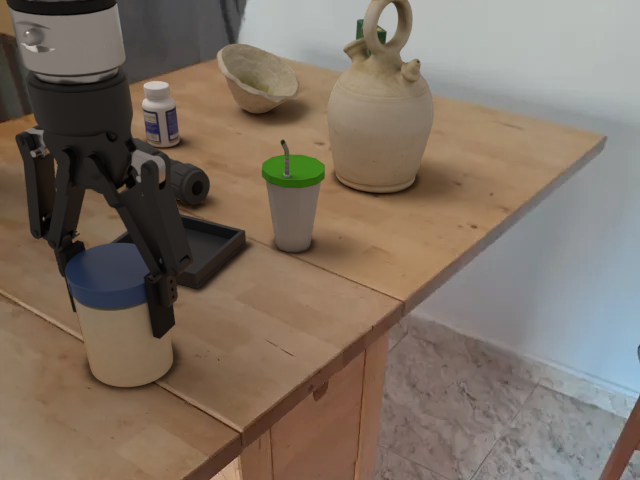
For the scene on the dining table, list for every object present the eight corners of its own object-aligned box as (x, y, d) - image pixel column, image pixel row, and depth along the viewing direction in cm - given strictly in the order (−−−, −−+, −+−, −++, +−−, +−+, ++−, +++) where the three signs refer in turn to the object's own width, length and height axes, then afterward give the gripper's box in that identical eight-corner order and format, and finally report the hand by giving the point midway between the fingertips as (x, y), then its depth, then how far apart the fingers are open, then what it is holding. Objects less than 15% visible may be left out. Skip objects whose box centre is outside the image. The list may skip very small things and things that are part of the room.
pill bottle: (176, 134, 116) (170, 78, 110) (182, 146, 113) (176, 88, 107) (144, 137, 115) (136, 81, 109) (150, 149, 111) (142, 91, 105)
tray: (105, 262, 85) (102, 248, 84) (160, 222, 93) (158, 208, 92) (196, 288, 81) (195, 274, 80) (246, 244, 90) (245, 230, 88)
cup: (295, 224, 94) (296, 110, 84) (334, 246, 90) (341, 129, 80) (250, 242, 90) (246, 124, 80) (290, 265, 86) (290, 145, 76)
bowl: (267, 131, 119) (266, 69, 112) (204, 114, 124) (199, 53, 117) (314, 108, 128) (315, 48, 121) (253, 92, 133) (251, 34, 126)
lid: (90, 319, 60) (86, 301, 59) (54, 275, 65) (49, 258, 64) (180, 290, 64) (178, 273, 63) (139, 251, 69) (137, 234, 68)
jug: (311, 163, 110) (315, -21, 92) (399, 153, 114) (419, -25, 97) (346, 204, 99) (358, 6, 82) (441, 191, 103) (472, 1, 86)
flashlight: (215, 200, 99) (212, 163, 95) (186, 212, 96) (182, 174, 92) (147, 168, 106) (142, 132, 102) (118, 178, 103) (112, 142, 99)
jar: (72, 372, 69) (48, 282, 62) (122, 329, 75) (105, 242, 68) (142, 396, 67) (125, 305, 60) (188, 350, 73) (178, 262, 66)
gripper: (-71, 59, 52) (10, 309, 68) (168, 107, 46) (198, 369, 62) (0, 36, 57) (61, 274, 73) (224, 77, 51) (238, 326, 67)
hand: (124, 318), depth 67 cm, fingers closed on lid, 9 cm apart
